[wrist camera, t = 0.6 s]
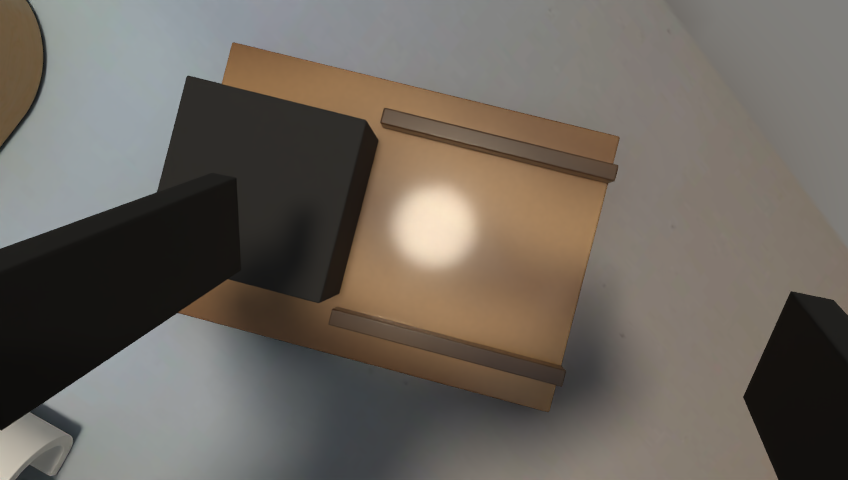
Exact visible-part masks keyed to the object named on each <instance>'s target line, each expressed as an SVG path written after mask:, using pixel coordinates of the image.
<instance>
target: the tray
mask: <svg viewBox="0 0 848 480" xmlns="http://www.w3.org/2000/svg"><path fill="white" fill-rule="evenodd" d="M222 84H224V85H228V86H232V87H236V88H240V89H244V90H248V91H252V92H256V93H260V94H264V95H268V96H272V97H276V98H280V99H284V100H288V101H292V102H296V103H300V104H304V105H308V106H312V107H316V108H320V109H324V110H328V111H332V112H337V113H341V114H345V115H349V116H353V117H357V118H361V119H365V120H366V121H367V122H368V124H369V125H370V127H371V129H372V130H373V132H374V133H375V135H376V137H377V138H378V145H377V148H376V152H375V156H374V160H373V164H372V168H371V172H370V176H369V180H368V184H367V187H366V191H365V195H364V199H363V203H362V207H361V211H360V215H359V219H358V223H357V226H356V230H355V234H354V238H353V242H352V246H351V250H350V254H349V258H348V261H347V265H346V269H345V273H344V277H343V281H342V285H341V289H340V293H339V294H338V295H336V296H333V297H331V298H329V299H327V300H325V301H323V302H321V303H315V302H312V301H308V300H304V299H300V298H297V297H293V296H289V295H285V294H281V293H278V292H274V291H270V290H266V289H263V288H259V287H255V286H251V285H247V284H244V283H240V282H236V281H232V280H228V279H227V280H226V281H224V282H223V283H221V284H220V285H218V286H217V287H215V288H214V289H212V290H211V291H209V292H208V293H206V294H205V295H203V296H202V297H200V298H199V299H197V300H196V301H194V302H193V303H191V304H190V305H188V306H187V307H185V308H184V309H182V310H181V311H179V312H178V313H180V314H184V315H188V316H191V317H195V318H199V319H203V320H206V321H210V322H214V323H218V324H221V325H225V326H229V327H232V328H236V329H240V330H244V331H247V332H251V333H255V334H259V335H262V336H266V337H270V338H273V339H277V340H281V341H285V342H288V343H292V344H296V345H300V346H303V347H307V348H311V349H314V350H318V351H322V352H326V353H329V354H333V355H337V356H341V357H344V358H348V359H352V360H355V361H359V362H363V363H367V364H370V365H374V366H378V367H382V368H385V369H389V370H393V371H396V372H400V373H404V374H408V375H411V376H415V377H419V378H423V379H426V380H430V381H434V382H437V383H441V384H445V385H449V386H452V387H456V388H460V389H464V390H467V391H471V392H475V393H478V394H482V395H486V396H490V397H493V398H497V399H501V400H505V401H508V402H512V403H516V404H519V405H523V406H527V407H531V408H534V409H538V410H542V411H546V412H549V411H550V407H551V403H552V399H553V395H554V391H555V387H556V385H557V386H562V385H563V381H564V377H565V373H566V370H565V369H564V368H563V367H562V366H561V364H562V360H563V356H564V352H565V348H566V345H567V341H568V337H569V333H570V329H571V325H572V321H573V317H574V313H575V310H576V306H577V302H578V298H579V294H580V290H581V286H582V282H583V279H584V275H585V271H586V267H587V263H588V259H589V255H590V251H591V247H592V244H593V240H594V236H595V232H596V228H597V224H598V220H599V216H600V213H601V209H602V205H603V201H604V197H605V193H606V189H607V185H608V183H610V182H613V181H615V178H616V174H617V170H618V165H616V164H613V162H614V158H615V154H616V150H617V146H618V143H619V139H620V138H619V137H618V136H614V135H610V134H606V133H602V132H598V131H594V130H590V129H586V128H581V127H577V126H573V125H569V124H565V123H561V122H557V121H553V120H549V119H545V118H541V117H537V116H532V115H528V114H524V113H520V112H516V111H512V110H508V109H504V108H500V107H496V106H492V105H487V104H483V103H479V102H475V101H471V100H467V99H463V98H459V97H455V96H451V95H447V94H442V93H438V92H434V91H430V90H426V89H422V88H418V87H414V86H410V85H406V84H402V83H398V82H393V81H389V80H385V79H381V78H377V77H373V76H369V75H365V74H361V73H357V72H353V71H348V70H344V69H340V68H336V67H332V66H328V65H324V64H320V63H316V62H312V61H308V60H303V59H299V58H295V57H291V56H287V55H283V54H279V53H275V52H271V51H267V50H263V49H259V48H254V47H250V46H246V45H242V44H238V43H232V46H231V50H230V54H229V58H228V62H227V66H226V69H225V73H224V77H223V81H222Z"/></svg>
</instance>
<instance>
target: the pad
mask: <svg viewBox="0 0 848 480" xmlns="http://www.w3.org/2000/svg"><path fill="white" fill-rule="evenodd" d="M377 145H378V138H377V137H376V135H375V133H374V132H373V130H372V129H371V127H370V125H369V124H368V122H367V121H366V120H365V119H361V118H357V117H353V116H349V115H345V114H341V113H337V112H332V111H328V110H324V109H320V108H316V107H312V106H308V105H304V104H300V103H296V102H292V101H288V100H284V99H280V98H276V97H272V96H268V95H264V94H260V93H256V92H252V91H248V90H244V89H240V88H236V87H232V86H228V85H224V84H220V83H216V82H212V81H208V80H204V79H200V78H196V77H192V76H187V78H186V82H185V86H184V89H183V93H182V97H181V101H180V105H179V109H178V113H177V117H176V121H175V125H174V129H173V132H172V136H171V140H170V144H169V148H168V152H167V156H166V160H165V164H164V168H163V172H162V175H161V179H160V183H159V187H158V191H157V192H160V191H162V190H165V189H168V188H171V187H174V186H176V185H179V184H182V183H185V182H187V181H190V180H193V179H196V178H199V177H201V176H204V175H207V174H210V173H216V174H221V175H225V176H230V177H235V178H237V197H238V216H239V236H240V256H241V271H239V272H238V273H236V274H235V275H233V276H232V277H230V278H229V279H228V280H232V281H236V282H240V283H244V284H247V285H251V286H255V287H259V288H263V289H266V290H270V291H274V292H278V293H281V294H285V295H289V296H293V297H297V298H300V299H304V300H308V301H312V302H315V303H321V302H323V301H325V300H327V299H329V298H331V297H333V296H336V295H338V294H339V293H340V289H341V285H342V281H343V277H344V273H345V269H346V265H347V261H348V258H349V254H350V250H351V246H352V242H353V238H354V234H355V230H356V226H357V223H358V219H359V215H360V211H361V207H362V203H363V199H364V195H365V191H366V187H367V184H368V180H369V176H370V172H371V168H372V164H373V160H374V156H375V152H376V148H377Z"/></svg>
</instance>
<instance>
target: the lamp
mask: <svg viewBox="0 0 848 480" xmlns="http://www.w3.org/2000/svg"><path fill="white" fill-rule="evenodd" d="M42 67H43V46H42V38H41V34H40V30H39V26H38V23H37V20H36V18H35V16H34V13H33V11H32V9H31V7H30V6H29V4H28V3H27V1H26V0H0V146H1V145H2V144H3V143H4V141H5V140H6V139H7V138H8V136H9V135H10V134H11V132H12V131H13V130H14V129H15V127H16V126H17V125H18V123H19V122H20V121H21V119H22V118H23V117H24V116H25V114H26V113H27V111H28V109H29V108H30V106H31V104H32V102H33V100H34V98H35V95H36V93H37V90H38V87H39V84H40V79H41V75H42Z"/></svg>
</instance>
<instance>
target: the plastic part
mask: <svg viewBox="0 0 848 480" xmlns="http://www.w3.org/2000/svg"><path fill="white" fill-rule="evenodd" d="M72 445H73V438H72V436H70V435H69V434H67V433H65V432H64V431H62V430H60V429H58V428H57V427H55V426H53V425H51V424H50V423H48V422H46V421H44V420H42V419H41V418H39V417H37V416H35V415H34V414H32V413H30V412H29V413H27V414H26V415H24V416H23V417H21V418H20V419H18V420H17V421H15V422H14V423H12V424H11V425H9V426H8V427H6V428H5V429H3V430H2V431H1V430H0V480H15V479H16V478H17V477H18V476H19V475H20V474H21V472H22V471H23V470H24V469H25V468H26V467H27V466H28V465H31V466H33V467H34V468H36V469H38V470H40V471H41V472H43V473H45V474H47V475H49V476H53V475H56V474H57V472H58V471H59V469H60V468H61V466H62V464H63V462H64V460H65V458H66V457H67V455H68V453H69V451H70V449H71V447H72Z"/></svg>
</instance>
